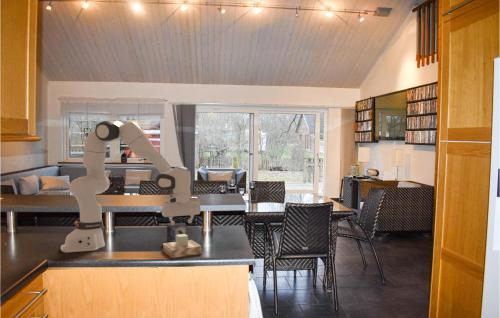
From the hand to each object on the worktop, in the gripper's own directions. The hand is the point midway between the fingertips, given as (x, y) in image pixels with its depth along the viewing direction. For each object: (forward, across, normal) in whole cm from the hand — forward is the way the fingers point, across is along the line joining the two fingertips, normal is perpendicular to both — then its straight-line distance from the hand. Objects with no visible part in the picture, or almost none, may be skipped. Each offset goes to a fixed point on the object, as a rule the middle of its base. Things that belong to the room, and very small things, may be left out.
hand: (181, 223), depth 221 cm
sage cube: (+11, 0, 0) cm, 11 cm away
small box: (+16, -4, -19) cm, 25 cm away
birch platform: (+15, 0, 0) cm, 15 cm away
